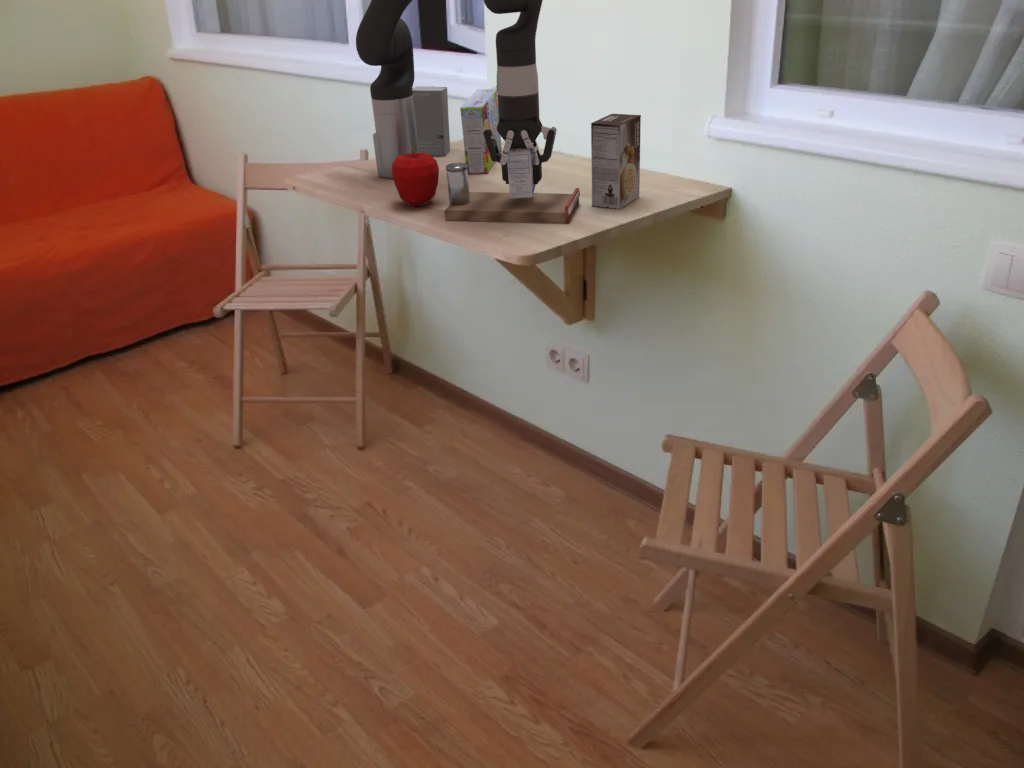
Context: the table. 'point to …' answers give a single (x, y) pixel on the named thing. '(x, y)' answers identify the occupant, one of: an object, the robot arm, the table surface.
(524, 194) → the medicine box
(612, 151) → the coffee box
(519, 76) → the robot arm
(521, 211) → the brown wooden board
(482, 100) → the snack box
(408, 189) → the apple
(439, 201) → the table surface
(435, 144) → the skincare box
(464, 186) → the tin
